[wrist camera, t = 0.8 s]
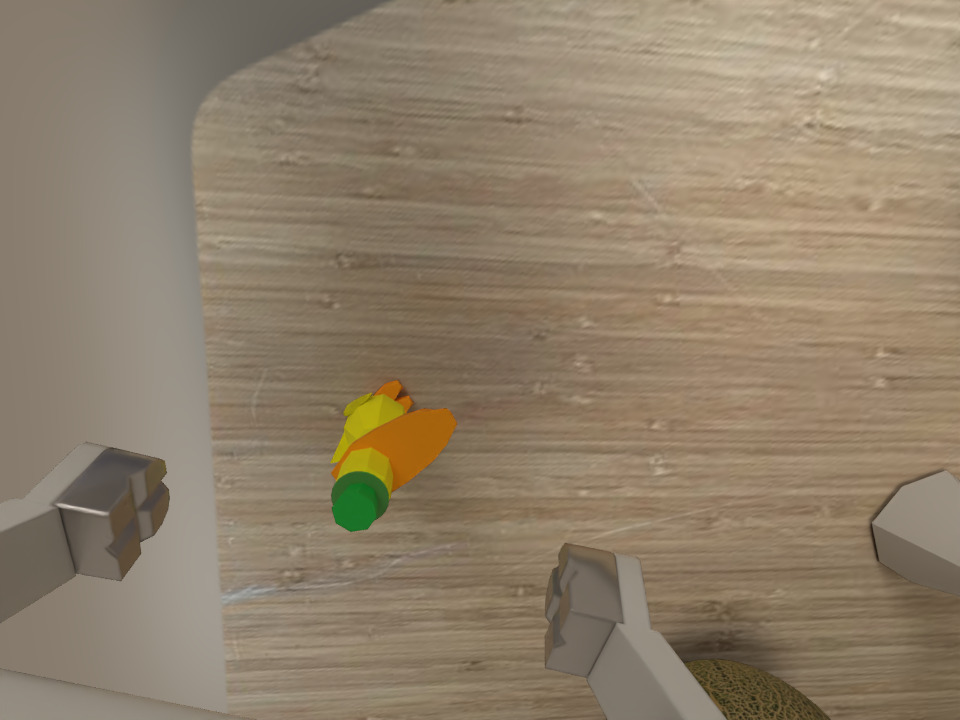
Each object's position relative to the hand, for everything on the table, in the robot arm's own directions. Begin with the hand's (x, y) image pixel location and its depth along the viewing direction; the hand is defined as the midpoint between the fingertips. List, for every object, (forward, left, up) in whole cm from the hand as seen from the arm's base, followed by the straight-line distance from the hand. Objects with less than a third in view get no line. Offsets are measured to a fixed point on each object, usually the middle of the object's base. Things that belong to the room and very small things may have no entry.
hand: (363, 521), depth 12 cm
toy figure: (+4, -1, -21) cm, 21 cm away
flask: (+20, +29, -21) cm, 40 cm away
